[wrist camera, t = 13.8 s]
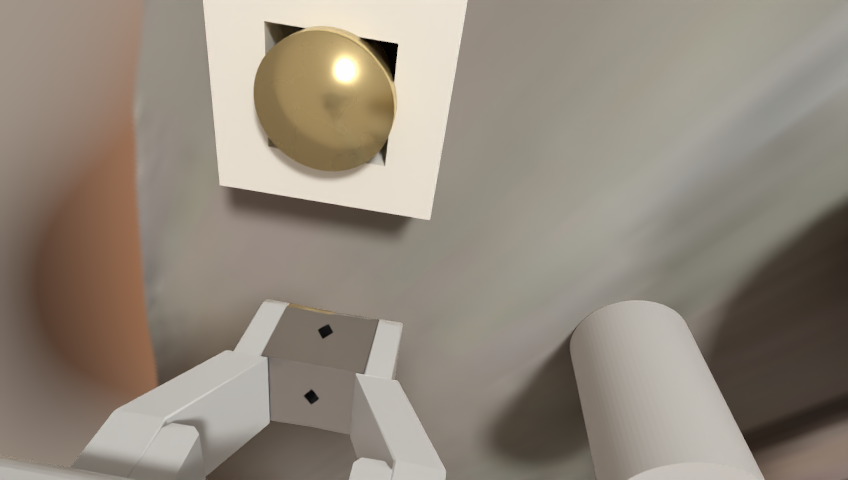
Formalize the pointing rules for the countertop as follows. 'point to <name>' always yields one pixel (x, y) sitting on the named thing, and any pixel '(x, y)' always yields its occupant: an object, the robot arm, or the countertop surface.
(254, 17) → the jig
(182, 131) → the countertop surface
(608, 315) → the white cylinder
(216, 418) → the robot arm
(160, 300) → the countertop surface
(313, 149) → the brass dome knob
